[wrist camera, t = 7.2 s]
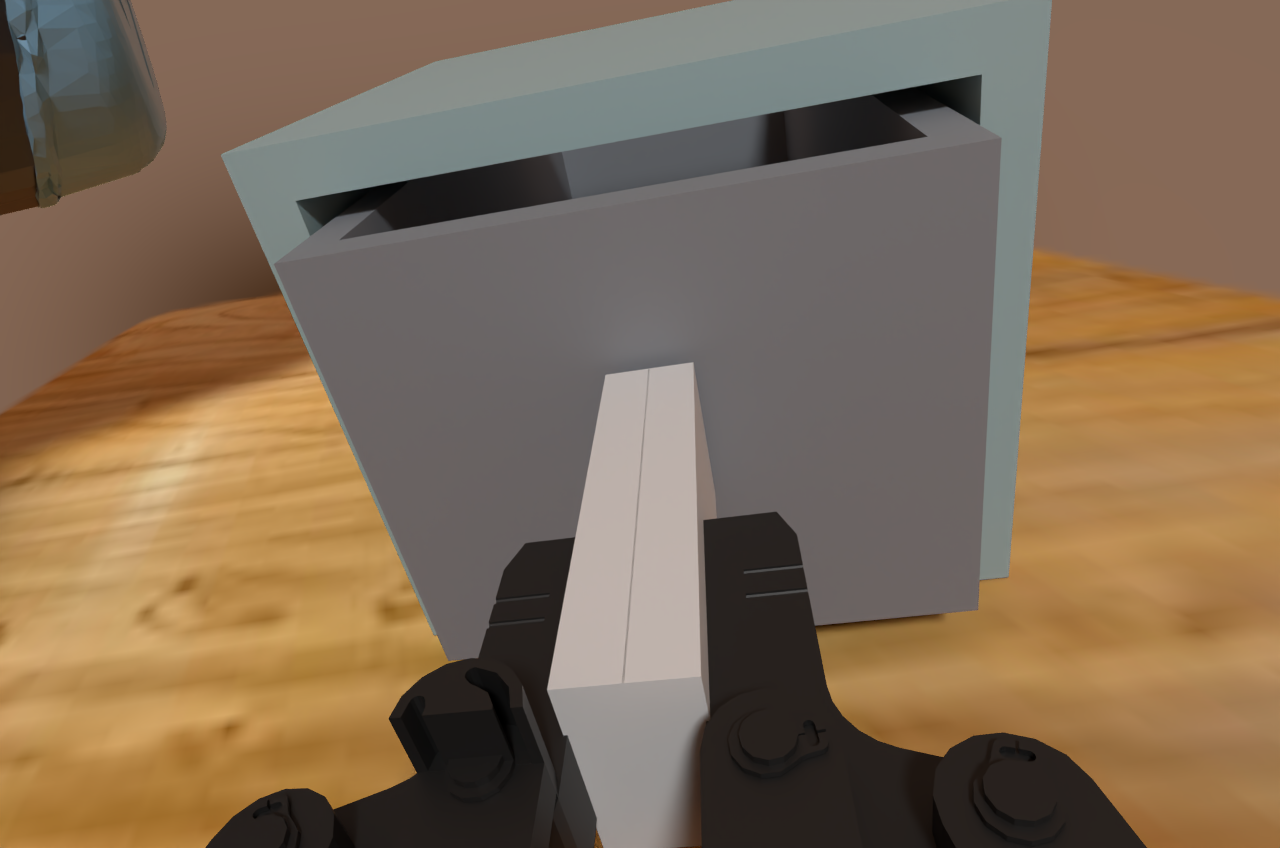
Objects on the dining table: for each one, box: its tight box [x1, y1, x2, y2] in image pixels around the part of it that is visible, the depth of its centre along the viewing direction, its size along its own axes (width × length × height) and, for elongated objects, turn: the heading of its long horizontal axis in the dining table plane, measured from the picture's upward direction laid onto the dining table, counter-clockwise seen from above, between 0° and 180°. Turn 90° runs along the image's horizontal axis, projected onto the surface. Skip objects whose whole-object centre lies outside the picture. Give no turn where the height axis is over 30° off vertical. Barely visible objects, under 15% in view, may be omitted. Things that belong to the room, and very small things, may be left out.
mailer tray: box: [274, 87, 1002, 661], centre depth 24 cm, size 24×11×9 cm, turn 177°
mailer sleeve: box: [221, 0, 1052, 635], centre depth 22 cm, size 14×14×12 cm
